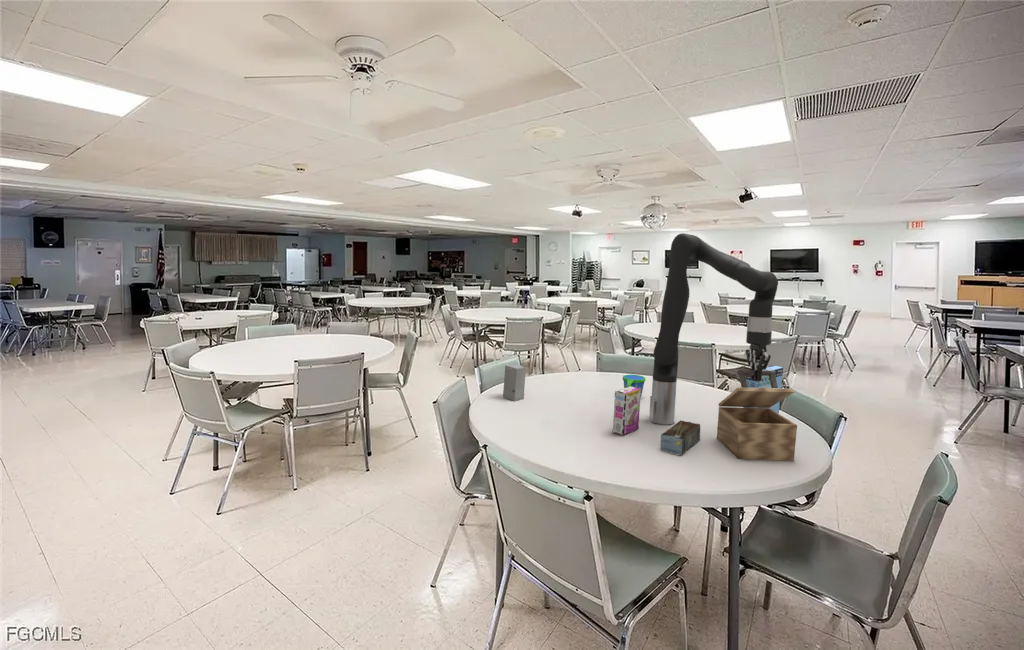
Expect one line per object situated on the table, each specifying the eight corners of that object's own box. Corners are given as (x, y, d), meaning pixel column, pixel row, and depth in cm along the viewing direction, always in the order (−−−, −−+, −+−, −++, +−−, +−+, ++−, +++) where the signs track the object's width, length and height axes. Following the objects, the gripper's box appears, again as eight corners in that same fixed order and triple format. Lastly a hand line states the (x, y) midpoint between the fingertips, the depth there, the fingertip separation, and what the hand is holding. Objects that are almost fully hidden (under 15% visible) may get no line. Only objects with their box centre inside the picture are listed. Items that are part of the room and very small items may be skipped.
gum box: (766, 418, 194) (771, 364, 191) (779, 421, 189) (784, 367, 187) (740, 426, 183) (745, 370, 180) (753, 430, 179) (758, 372, 176)
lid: (738, 390, 152) (733, 365, 156) (718, 406, 168) (715, 383, 172) (794, 392, 151) (788, 366, 155) (769, 407, 167) (764, 384, 171)
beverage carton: (658, 450, 159) (659, 432, 158) (678, 435, 173) (679, 418, 172) (682, 456, 154) (683, 437, 153) (700, 440, 168) (701, 423, 167)
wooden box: (737, 458, 152) (740, 423, 150) (716, 438, 170) (718, 407, 168) (793, 460, 151) (797, 425, 149) (766, 440, 169) (769, 408, 167)
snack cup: (636, 403, 213) (637, 381, 212) (615, 399, 220) (616, 378, 218) (649, 396, 225) (651, 375, 224) (629, 392, 232) (630, 372, 230)
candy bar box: (623, 436, 171) (625, 393, 169) (612, 432, 174) (614, 390, 172) (639, 429, 179) (641, 388, 177) (628, 426, 182) (630, 385, 180)
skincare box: (502, 397, 219) (503, 365, 217) (513, 395, 224) (514, 363, 222) (514, 401, 213) (515, 368, 211) (525, 398, 218) (526, 366, 216)
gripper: (739, 327, 165) (736, 375, 166) (757, 332, 151) (754, 384, 152) (760, 328, 164) (757, 376, 166) (781, 332, 150) (777, 384, 152)
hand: (756, 379), depth 159 cm, fingers closed on lid, 2 cm apart
